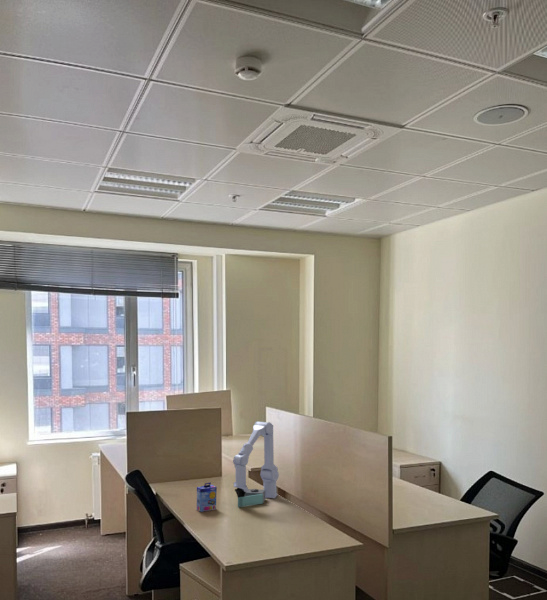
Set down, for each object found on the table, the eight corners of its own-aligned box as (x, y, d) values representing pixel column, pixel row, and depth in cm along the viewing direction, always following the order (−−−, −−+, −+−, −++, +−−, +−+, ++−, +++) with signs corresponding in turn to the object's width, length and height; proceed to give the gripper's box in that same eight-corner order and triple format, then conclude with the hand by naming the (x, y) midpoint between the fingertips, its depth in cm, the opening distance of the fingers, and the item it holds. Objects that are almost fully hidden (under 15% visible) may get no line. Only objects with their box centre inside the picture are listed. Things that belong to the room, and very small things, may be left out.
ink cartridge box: (200, 512, 312) (200, 484, 313) (195, 509, 316) (196, 482, 317) (217, 509, 317) (217, 482, 318) (212, 507, 321) (212, 480, 322)
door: (237, 506, 320) (237, 497, 321) (263, 502, 328) (263, 493, 328) (238, 507, 319) (238, 498, 319) (264, 503, 326) (264, 494, 327)
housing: (246, 498, 338) (246, 487, 338) (265, 499, 336) (265, 488, 336) (243, 502, 330) (243, 491, 330) (262, 503, 328) (262, 492, 328)
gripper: (228, 475, 328) (228, 499, 327) (239, 480, 315) (239, 506, 314) (240, 473, 331) (240, 498, 330) (251, 478, 319) (251, 504, 318)
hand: (240, 502), depth 323 cm, fingers closed
